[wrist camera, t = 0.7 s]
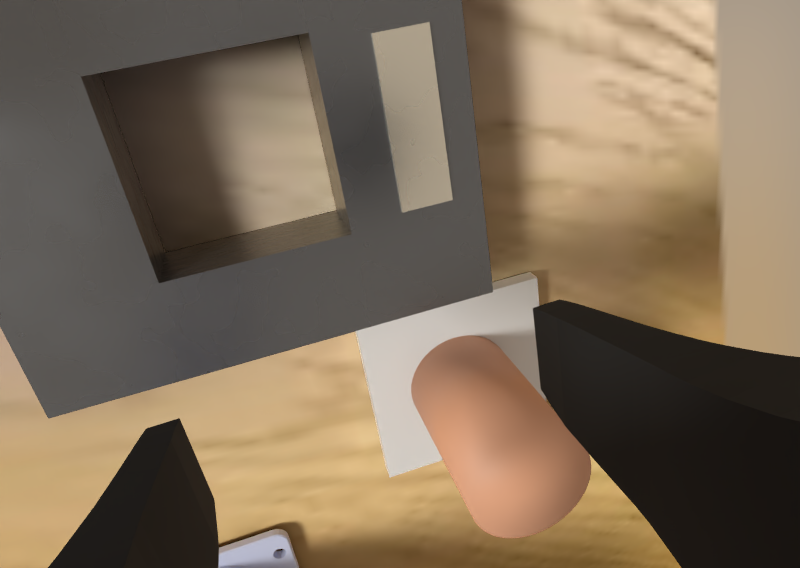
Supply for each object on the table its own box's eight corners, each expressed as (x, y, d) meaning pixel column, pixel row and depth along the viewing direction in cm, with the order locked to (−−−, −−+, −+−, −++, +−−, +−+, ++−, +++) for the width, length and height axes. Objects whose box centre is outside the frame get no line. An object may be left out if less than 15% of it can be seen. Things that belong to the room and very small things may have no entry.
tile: (541, 417, 26) (547, 425, 26) (386, 467, 25) (389, 477, 25) (530, 271, 23) (537, 277, 23) (352, 321, 22) (356, 328, 22)
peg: (512, 407, 25) (592, 512, 20) (419, 437, 24) (476, 554, 19) (503, 323, 23) (589, 414, 18) (403, 352, 22) (461, 456, 17)
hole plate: (465, 264, 22) (494, 293, 20) (66, 373, 20) (47, 420, 18) (416, -119, 17) (447, -140, 15) (-133, -35, 15) (-196, -44, 12)
